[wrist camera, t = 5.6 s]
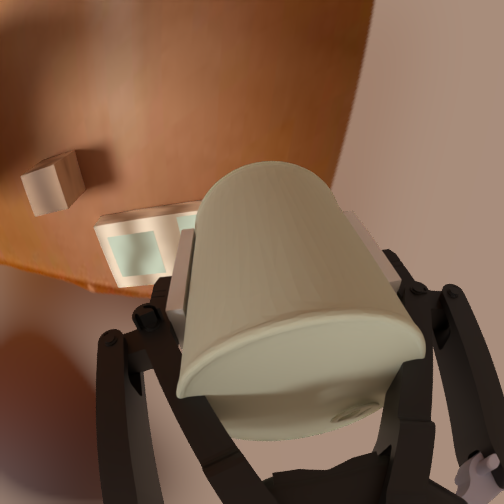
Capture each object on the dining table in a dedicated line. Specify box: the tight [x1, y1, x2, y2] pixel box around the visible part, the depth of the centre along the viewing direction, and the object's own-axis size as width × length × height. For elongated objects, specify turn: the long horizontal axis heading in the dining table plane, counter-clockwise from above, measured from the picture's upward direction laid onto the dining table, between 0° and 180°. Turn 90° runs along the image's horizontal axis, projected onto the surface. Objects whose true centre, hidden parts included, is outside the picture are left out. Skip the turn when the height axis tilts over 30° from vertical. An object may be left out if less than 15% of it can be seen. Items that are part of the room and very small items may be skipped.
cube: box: [21, 150, 86, 217], centre depth 32 cm, size 6×6×6 cm
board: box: [94, 200, 202, 288], centre depth 41 cm, size 22×11×3 cm, turn 95°
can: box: [176, 161, 426, 441], centre depth 14 cm, size 9×9×12 cm
